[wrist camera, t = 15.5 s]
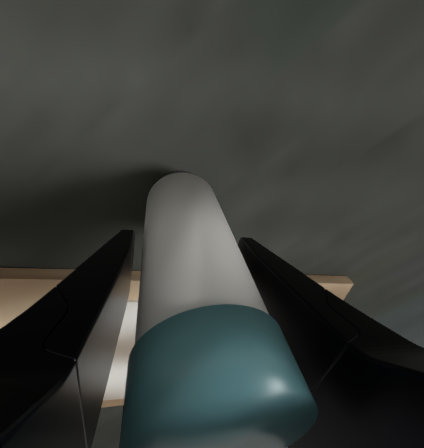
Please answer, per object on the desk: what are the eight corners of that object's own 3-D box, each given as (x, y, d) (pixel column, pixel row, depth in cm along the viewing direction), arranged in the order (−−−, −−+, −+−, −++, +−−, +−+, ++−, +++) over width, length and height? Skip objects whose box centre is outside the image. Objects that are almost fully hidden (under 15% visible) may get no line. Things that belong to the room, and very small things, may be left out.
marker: (206, 225, 14) (279, 462, 5) (143, 220, 13) (116, 494, 5) (219, 166, 12) (353, 379, 4) (148, 156, 11) (119, 406, 3)
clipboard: (282, 378, 25) (290, 398, 24) (33, 403, 19) (22, 431, 18) (346, 275, 18) (363, 294, 17) (-11, 267, 12) (-34, 294, 11)
